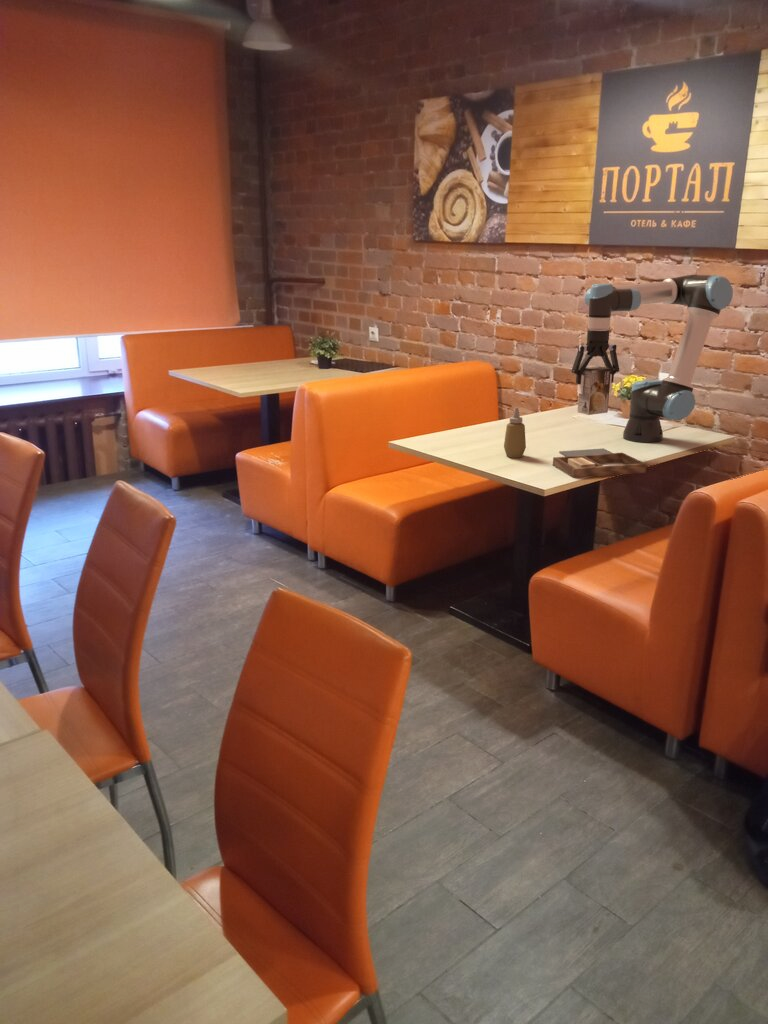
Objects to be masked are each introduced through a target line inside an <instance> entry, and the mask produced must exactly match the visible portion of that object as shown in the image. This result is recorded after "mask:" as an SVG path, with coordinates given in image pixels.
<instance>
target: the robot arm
mask: <svg viewBox="0 0 768 1024" xmlns="http://www.w3.org/2000/svg"><path fill="white" fill-rule="evenodd" d="M733 294H734V291H733V286H732V283H731V281H730V280H729V279H728V278H727V277H725V276H721V275H716V274H712V275H710V274H705V275H704V274H689V275H683V276H676V277H671V278H670V277H669V278H665V279H663V281H657V282H656V281H655V282H647V283H636V284H635V283H634V284H626V285H614V286H613V285H612V283H595V284H594V283H593V284H592V285H591V286H590V288H589V289H588V290H587V291H586V292H585V295H584V301H585V304H586V306H587V307H588V317H587V318H588V319H587V329H588V330H587V332H586V333H587V334H586V344H585V345H581V344H580V345H578V346H577V354H576V356H575V360H574V362H573V365H572V369H571V373H572V374H574V375H576V377H575V384H577V391H576V392H577V394H579V393H580V394H583V382H584V375H582V373H583V372H584V370H585V368H588V367H587V366H588V365H589V363H590V361H591V360H592V359H593V358H595V357H601V359H602V361H603V363H604V366H605V368H611V374H610V388H609V394H610V393H611V392H612V391H611V390H612V383H614V376H615V375H616V374H617V373H618V372H620V366H619V361H618V360H619V359H618V355H617V348H618V347H617V344H615V343H614V344H611V343H610V344H609V340H610V331H609V329H611V317H612V313H613V312H631V311H637V310H638V309H639V307H641V305H649V304H659V303H662V304H664V305H667V306H668V305H669V306H670V305H679V306H686V309H687V311H688V317H687V321H686V323H685V326H684V328H683V332H682V335H681V338H680V341H679V344H678V346H677V349H676V353H675V355H674V358H673V362H672V363H671V364H672V365H671V368H670V369H669V373H668V376H667V377H665V378H663V379H661V380H660V379H655V380H654V379H650V380H649V379H648V380H647V379H646V380H638V381H637V380H636V381H634V382H633V383H632V385H631V391H630V403H629V405H630V406H629V414H628V415H629V418H628V420H627V423H626V425H625V428H624V429H623V432H622V437H623V439H625V440H627V441H631V442H636V443H637V442H638V443H658V442H661V441H663V438H664V433H663V428H662V424H661V418H663V419H667V420H669V421H670V420H671V421H672V420H673V421H682V420H684V419H686V418H688V417H689V416H690V415H691V414H692V412H693V410H694V408H695V406H696V399H695V398H696V397H695V394H694V393H693V391H694V386H693V384H692V381H693V378H694V376H695V373H696V370H697V368H698V367H697V366H698V364H699V360H700V358H701V355H702V352H703V348H704V346H705V343H706V341H707V337H708V335H709V332H710V329H711V326H712V323H713V321H714V320H715V319H717V318H718V317H719V316H720V313H721V310H724V309H726V308H727V307H728V306H730V304H731V303H732V299H733V297H734V295H733ZM607 350H608V351H609V354H610V358H609V355H608V353H607ZM585 352H586V354H585ZM584 354H585V355H584ZM583 357H584V358H583Z"/></svg>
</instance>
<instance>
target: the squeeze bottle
mask: <svg viewBox="0 0 768 1024" xmlns="http://www.w3.org/2000/svg"><path fill="white" fill-rule="evenodd" d="M519 411H520V410H519V408H518V407H514V409H513V414H512V416H510V417H509V422H508V423H507V424H506V428H505V429H506V430H505V435H504V442H503V448H504V452H505V455H506V457H508V458H513V459H516V458H522V457H523V456H524V453H525V451H526V448H527V444H526V443H527V441H526V425H525V424H524V423H523V417H522V416H520V412H519Z"/></svg>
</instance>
